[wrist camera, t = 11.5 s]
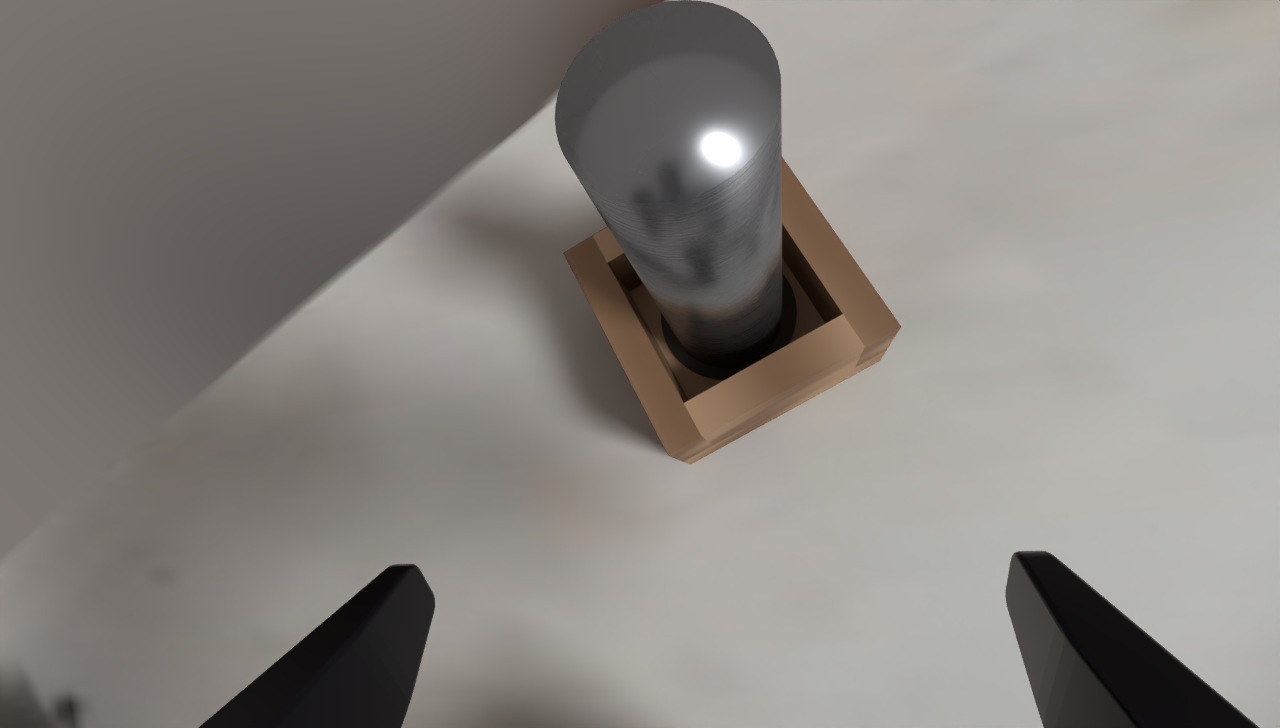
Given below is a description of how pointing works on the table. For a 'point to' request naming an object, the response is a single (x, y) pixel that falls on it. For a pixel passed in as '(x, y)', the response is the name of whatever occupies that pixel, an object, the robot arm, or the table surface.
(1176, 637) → the table surface
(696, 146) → the pin
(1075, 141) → the table surface
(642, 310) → the socket block
